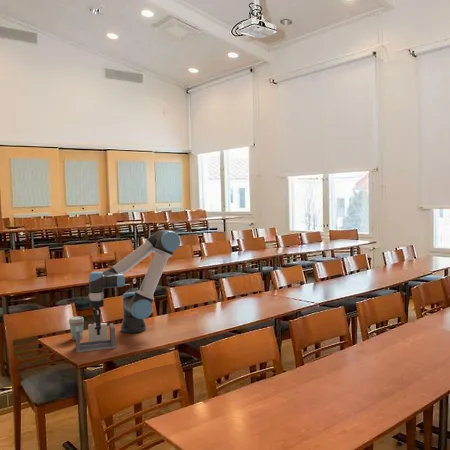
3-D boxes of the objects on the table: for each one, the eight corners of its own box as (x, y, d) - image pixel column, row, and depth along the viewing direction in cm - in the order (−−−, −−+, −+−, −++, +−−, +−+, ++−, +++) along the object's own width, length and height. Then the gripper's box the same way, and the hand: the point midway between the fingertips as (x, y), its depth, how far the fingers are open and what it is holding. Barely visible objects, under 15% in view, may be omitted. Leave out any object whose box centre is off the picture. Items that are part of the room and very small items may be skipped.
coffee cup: (80, 341, 272) (79, 320, 271) (66, 340, 274) (65, 319, 273) (87, 336, 281) (86, 316, 280) (74, 335, 282) (73, 315, 281)
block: (107, 340, 273) (106, 322, 273) (107, 341, 270) (107, 324, 270) (88, 342, 270) (88, 324, 269) (89, 343, 267) (88, 325, 267)
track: (113, 342, 268) (113, 323, 267) (115, 348, 259) (114, 327, 258) (76, 346, 262) (75, 326, 261) (76, 352, 252) (75, 331, 252)
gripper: (88, 295, 279) (89, 331, 280) (90, 304, 256) (92, 344, 257) (101, 294, 282) (102, 330, 283) (105, 303, 258) (106, 342, 259)
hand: (97, 337), depth 270 cm, fingers open, 13 cm apart
